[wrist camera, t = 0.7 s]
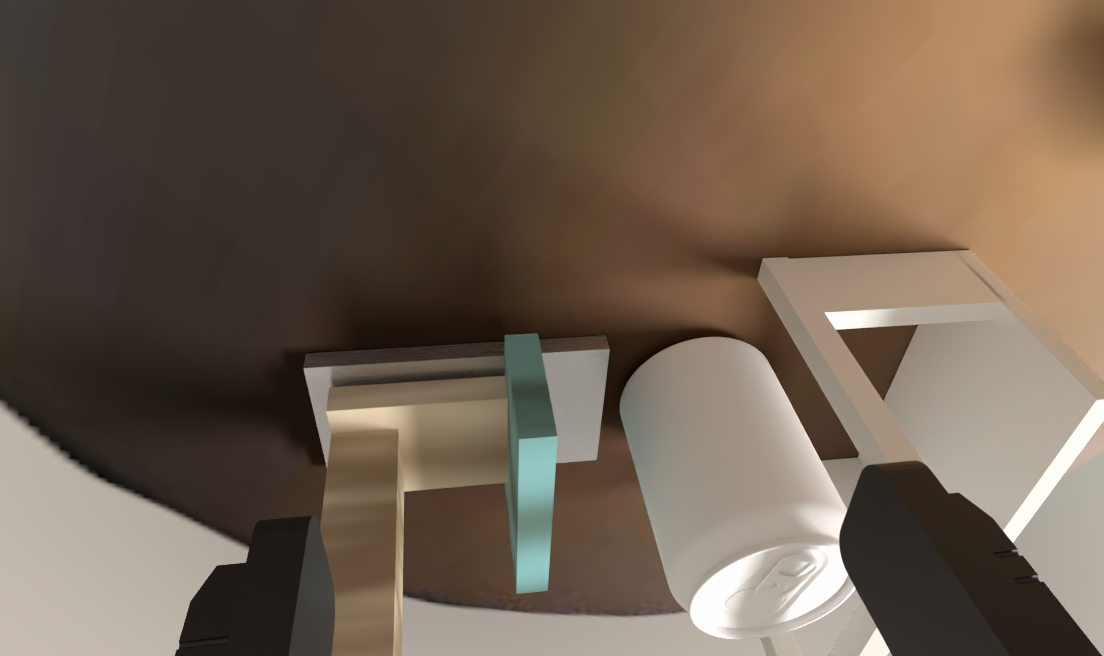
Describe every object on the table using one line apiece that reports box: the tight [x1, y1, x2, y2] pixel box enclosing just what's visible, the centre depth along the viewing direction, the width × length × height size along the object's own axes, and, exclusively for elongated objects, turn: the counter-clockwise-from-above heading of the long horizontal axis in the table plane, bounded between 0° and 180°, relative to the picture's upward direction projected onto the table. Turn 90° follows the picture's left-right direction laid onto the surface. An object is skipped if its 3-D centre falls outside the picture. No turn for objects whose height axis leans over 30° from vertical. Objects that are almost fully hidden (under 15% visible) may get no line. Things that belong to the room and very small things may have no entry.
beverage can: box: [620, 337, 855, 639], centre depth 35 cm, size 8×8×12 cm
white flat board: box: [303, 335, 610, 467], centre depth 37 cm, size 8×14×1 cm, turn 88°
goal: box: [757, 250, 1104, 656], centre depth 35 cm, size 16×10×15 cm, turn 178°
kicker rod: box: [320, 333, 558, 656], centre depth 29 cm, size 11×10×19 cm
